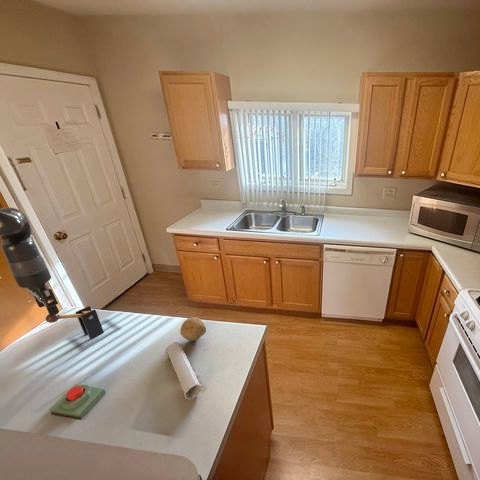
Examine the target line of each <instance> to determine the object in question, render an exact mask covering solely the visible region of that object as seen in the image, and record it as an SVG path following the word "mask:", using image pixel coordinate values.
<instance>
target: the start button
mask: <svg viewBox="0 0 480 480" xmlns="http://www.w3.org/2000/svg"><path fill="white" fill-rule="evenodd" d="M73 387H74V386H73ZM71 388H72V387H71ZM71 388H70V389H69V390H67V392H66V393H67V394H66V393H65V394H66V396H67V398H68V400H69V401H74V400H76V399H78V398H80V397H81V396H82V395H83V393H84V390H83V388H82V387H81V386H76V387H74V388H72V389H71Z"/></svg>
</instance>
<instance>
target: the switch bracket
mask: <svg viewBox="0 0 480 480" xmlns="http://www.w3.org/2000/svg"><path fill="white" fill-rule="evenodd" d="M82 311H90V312H88V313H86V314H83V315H81V318H80V317H77V320H78V323H79V325H80V327H81V330H82V332H83V334H84V336H85V337H87V336H88V338H89V340H94V339H95V338H97V337H99V336H100V335H103V334H104V333H105V332H104V329H103V326H102V323H101V321H100V318H99V315H98V312H97V310H96V309H92V307H91V306H90V305H88V306H86V307H84V308H81V309H79V310H76V311H75V313H74V314H81V313H82Z"/></svg>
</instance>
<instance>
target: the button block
mask: <svg viewBox="0 0 480 480" xmlns="http://www.w3.org/2000/svg"><path fill="white" fill-rule="evenodd" d="M76 386H81V387H82V388H83V390H84V393H83V395H82V396H81V397H80V398H78V399H76V400H74V401H69V400H68V398H67V396H66V394H67V392H65V393H64V394H63V395H62V396H61V397H60V398H59V399H57V400H56V401H55V402H54V403H53V404H52V406H50V407H49V409H48V410H49V411H50V413H51V414H53V415H57V416H58V415H59V416H63V417H69V418H75V419H81V420H82V419H83V418H84V417H85V416H86V415H87V414H88V413H89V412H90V411H91V410H92V409H93V408H94V407H95V406H96V404H98V402H99V401H101V400H102V398H103V397H104V396H105V395H106V394H107V392H106V390H105V388H102V387H95V386H90V385H89V384H84V383H83V384H79V383H76V384H75V385H73V386H72V387H71V388H70V389H72V388H74V387H76Z"/></svg>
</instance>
